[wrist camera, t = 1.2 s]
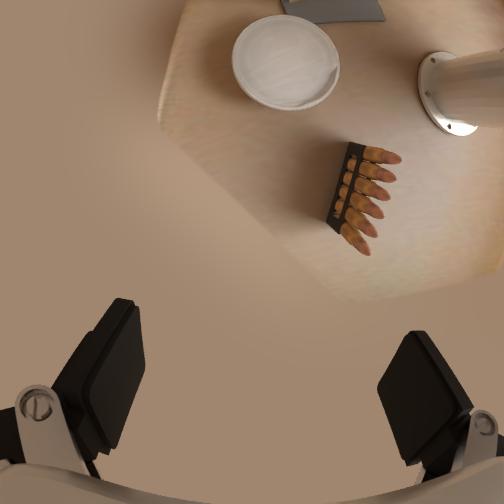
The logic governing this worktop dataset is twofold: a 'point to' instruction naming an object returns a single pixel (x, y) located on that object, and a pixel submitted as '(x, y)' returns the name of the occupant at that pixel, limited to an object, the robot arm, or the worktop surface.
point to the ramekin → (285, 63)
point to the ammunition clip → (346, 197)
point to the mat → (335, 10)
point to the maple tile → (294, 0)
